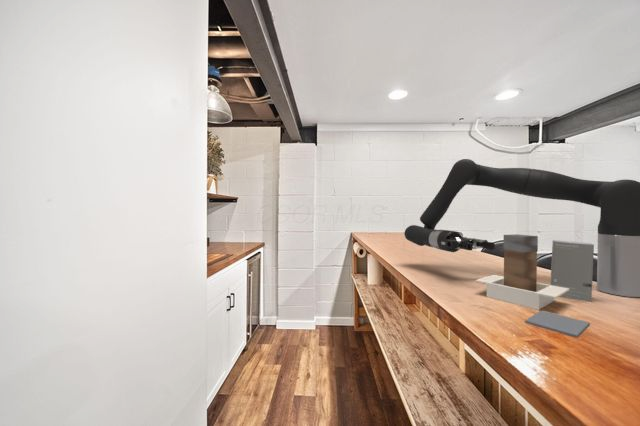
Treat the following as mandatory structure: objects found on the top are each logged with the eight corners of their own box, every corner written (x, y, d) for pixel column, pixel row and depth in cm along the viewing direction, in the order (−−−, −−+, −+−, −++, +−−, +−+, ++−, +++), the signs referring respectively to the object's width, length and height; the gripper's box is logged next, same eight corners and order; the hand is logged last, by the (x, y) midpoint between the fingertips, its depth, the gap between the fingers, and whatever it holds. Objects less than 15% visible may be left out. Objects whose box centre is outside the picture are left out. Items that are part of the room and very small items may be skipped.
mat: (541, 314, 61) (541, 310, 61) (589, 327, 55) (589, 322, 55) (524, 325, 55) (524, 320, 55) (576, 340, 49) (576, 335, 49)
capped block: (517, 294, 74) (517, 234, 73) (537, 300, 69) (537, 236, 68) (503, 296, 72) (503, 234, 72) (522, 302, 67) (522, 236, 67)
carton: (493, 289, 81) (493, 274, 81) (569, 306, 67) (569, 288, 66) (475, 296, 74) (475, 280, 74) (555, 316, 60) (555, 296, 60)
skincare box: (550, 297, 73) (551, 241, 73) (550, 291, 79) (550, 238, 79) (594, 304, 68) (594, 243, 68) (590, 297, 73) (591, 241, 73)
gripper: (428, 230, 95) (464, 234, 79) (460, 229, 99) (501, 234, 83) (428, 250, 95) (463, 259, 79) (460, 249, 99) (500, 257, 83)
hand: (482, 246), depth 81 cm, fingers open, 8 cm apart
